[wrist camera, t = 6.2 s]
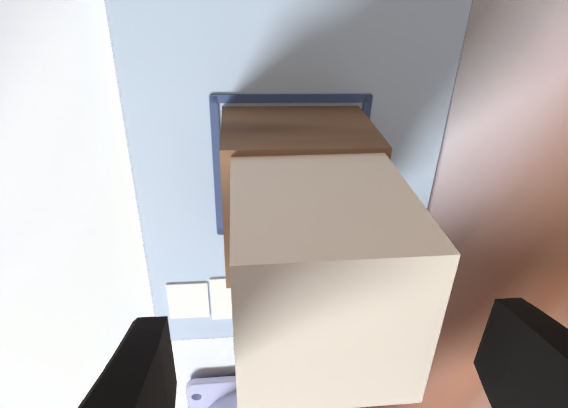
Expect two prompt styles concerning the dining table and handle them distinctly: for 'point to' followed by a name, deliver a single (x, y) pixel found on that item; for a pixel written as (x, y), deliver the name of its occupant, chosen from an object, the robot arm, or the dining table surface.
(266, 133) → the walnut base block
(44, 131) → the dining table surface
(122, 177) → the dining table surface
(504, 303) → the robot arm
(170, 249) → the board
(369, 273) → the ivory block
